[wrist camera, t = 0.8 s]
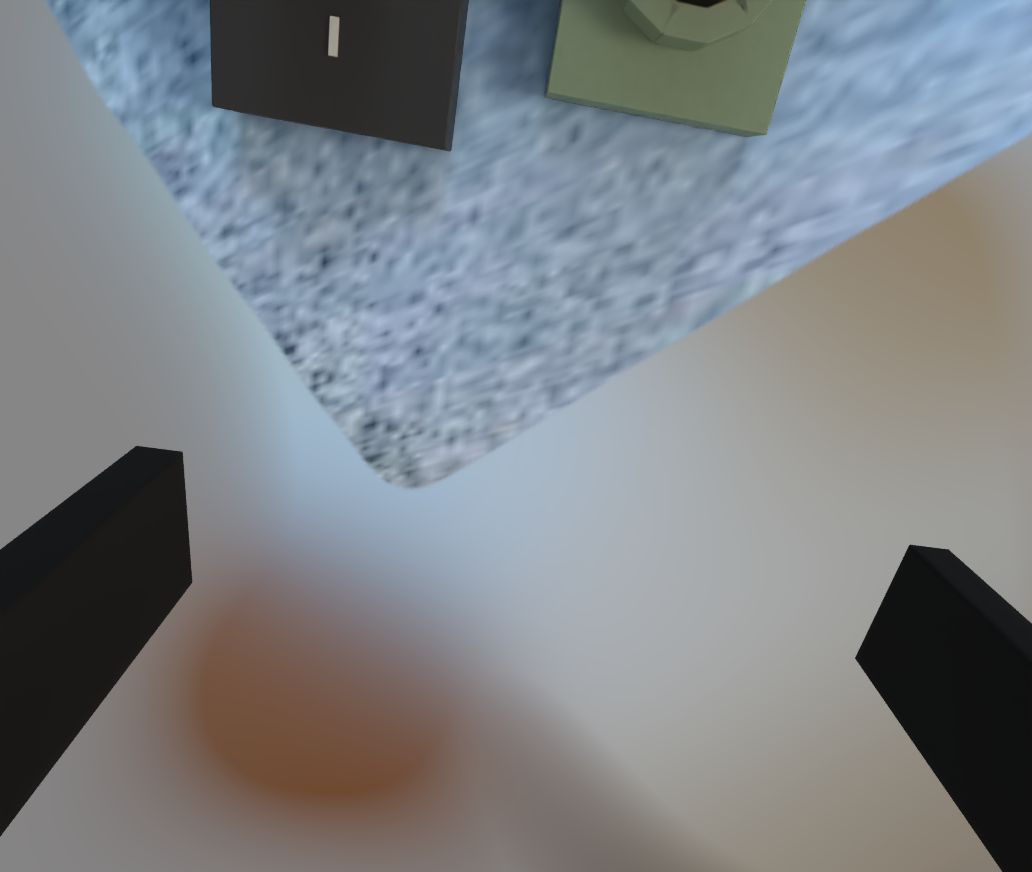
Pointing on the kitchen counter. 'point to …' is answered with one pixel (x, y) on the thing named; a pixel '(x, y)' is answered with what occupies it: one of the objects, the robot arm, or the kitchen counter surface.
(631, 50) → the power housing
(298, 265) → the kitchen counter surface
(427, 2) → the panel
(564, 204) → the kitchen counter surface
